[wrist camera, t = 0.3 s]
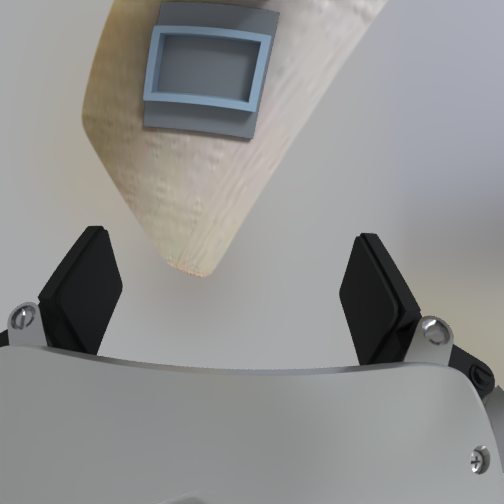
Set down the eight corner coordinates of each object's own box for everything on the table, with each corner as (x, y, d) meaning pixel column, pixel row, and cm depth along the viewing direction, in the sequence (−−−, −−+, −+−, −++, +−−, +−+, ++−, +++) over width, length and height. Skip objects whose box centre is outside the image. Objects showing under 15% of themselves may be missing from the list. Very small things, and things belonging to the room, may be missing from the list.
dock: (163, 3, 24) (155, -2, 21) (279, 14, 26) (282, 8, 23) (145, 124, 35) (136, 129, 32) (252, 137, 36) (253, 143, 34)
